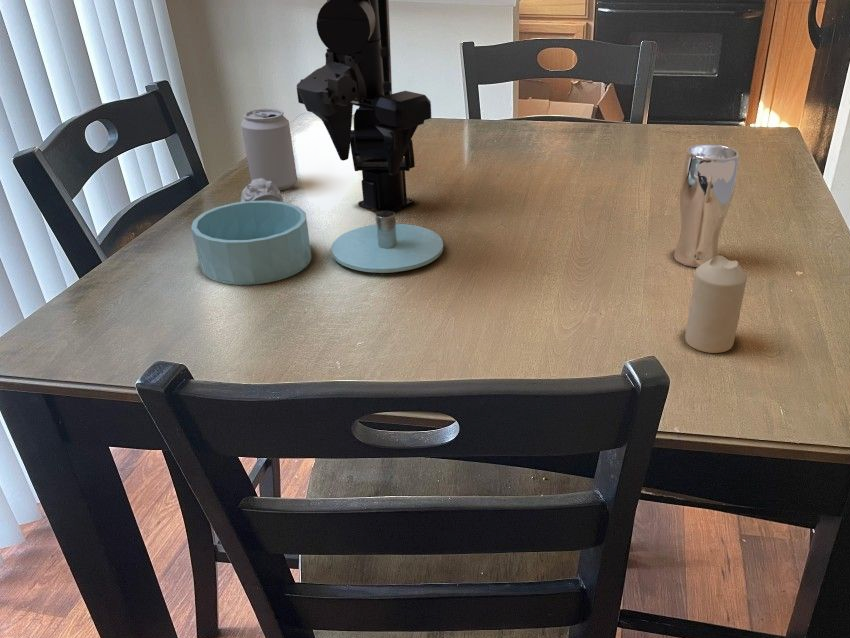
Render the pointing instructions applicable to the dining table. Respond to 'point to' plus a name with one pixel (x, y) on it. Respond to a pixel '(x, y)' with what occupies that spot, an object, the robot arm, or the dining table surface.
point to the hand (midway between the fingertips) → (368, 166)
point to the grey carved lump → (261, 191)
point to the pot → (252, 242)
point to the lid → (387, 246)
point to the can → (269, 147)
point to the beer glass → (705, 201)
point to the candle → (715, 305)
